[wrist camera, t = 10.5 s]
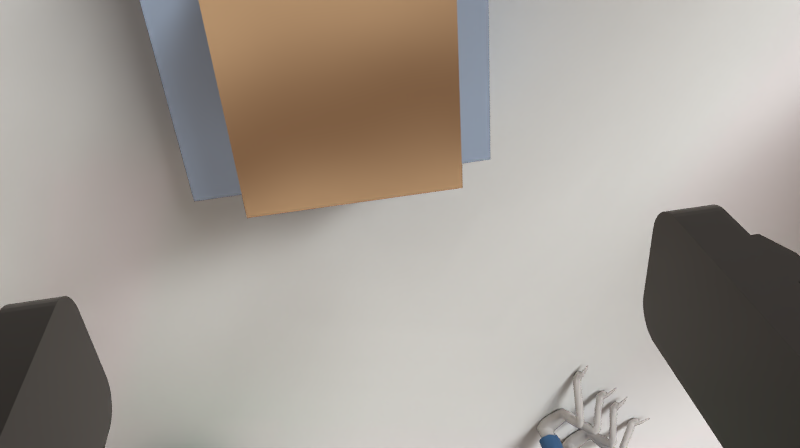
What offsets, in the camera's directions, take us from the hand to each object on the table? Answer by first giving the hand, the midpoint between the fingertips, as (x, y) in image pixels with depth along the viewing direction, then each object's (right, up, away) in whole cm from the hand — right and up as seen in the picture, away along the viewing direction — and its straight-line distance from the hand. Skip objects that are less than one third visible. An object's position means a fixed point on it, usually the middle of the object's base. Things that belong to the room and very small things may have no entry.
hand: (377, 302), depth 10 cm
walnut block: (-2, +7, +11) cm, 13 cm away
